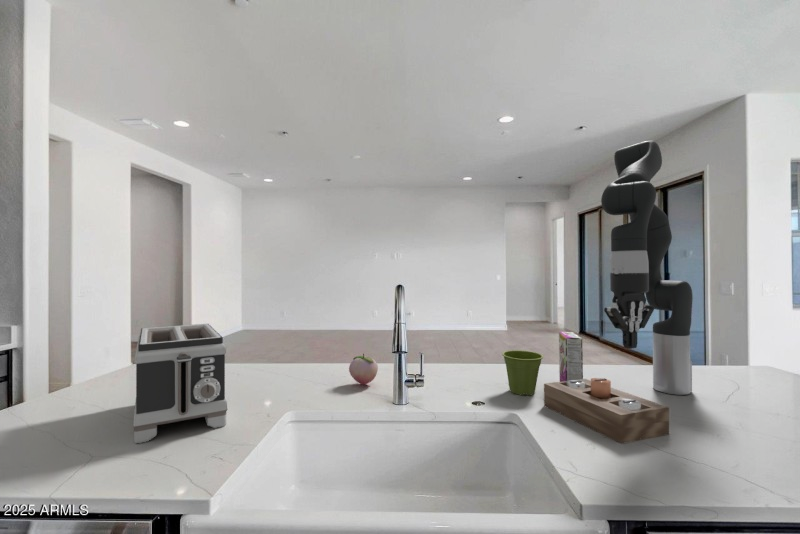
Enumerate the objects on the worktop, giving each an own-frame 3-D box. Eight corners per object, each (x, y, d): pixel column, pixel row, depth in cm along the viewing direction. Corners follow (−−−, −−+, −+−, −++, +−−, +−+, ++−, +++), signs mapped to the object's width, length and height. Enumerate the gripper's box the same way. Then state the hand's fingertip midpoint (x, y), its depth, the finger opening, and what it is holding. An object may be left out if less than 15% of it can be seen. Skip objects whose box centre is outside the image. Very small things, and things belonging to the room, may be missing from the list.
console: (585, 400, 109) (585, 378, 109) (669, 434, 87) (668, 407, 87) (544, 405, 105) (544, 383, 105) (621, 443, 82) (621, 415, 82)
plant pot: (499, 395, 113) (499, 356, 114) (504, 384, 124) (504, 349, 124) (542, 400, 109) (542, 360, 109) (544, 388, 120) (544, 352, 120)
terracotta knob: (600, 391, 99) (600, 376, 99) (615, 396, 94) (614, 380, 94) (586, 393, 97) (586, 377, 97) (600, 398, 93) (600, 382, 93)
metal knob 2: (628, 413, 91) (628, 396, 91) (645, 420, 87) (645, 402, 87) (613, 415, 90) (613, 398, 90) (630, 422, 85) (630, 404, 85)
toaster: (132, 454, 78) (132, 349, 78) (137, 404, 107) (137, 327, 107) (230, 433, 88) (230, 340, 88) (211, 392, 117) (211, 322, 117)
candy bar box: (558, 381, 127) (558, 331, 127) (574, 382, 126) (574, 331, 126) (565, 392, 116) (565, 337, 116) (583, 393, 115) (583, 337, 115)
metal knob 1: (576, 392, 106) (576, 378, 106) (589, 397, 102) (589, 382, 102) (563, 394, 105) (563, 379, 105) (575, 399, 100) (575, 384, 100)
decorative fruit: (383, 383, 125) (383, 352, 125) (368, 390, 118) (368, 357, 118) (360, 379, 130) (360, 349, 130) (344, 385, 123) (344, 354, 123)
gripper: (635, 270, 94) (636, 342, 94) (593, 271, 89) (593, 347, 89) (666, 271, 87) (667, 348, 87) (621, 271, 82) (622, 353, 82)
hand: (629, 347), depth 88 cm, fingers closed
